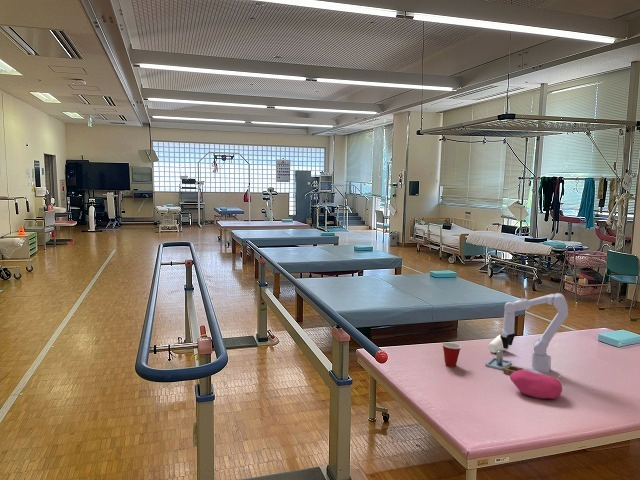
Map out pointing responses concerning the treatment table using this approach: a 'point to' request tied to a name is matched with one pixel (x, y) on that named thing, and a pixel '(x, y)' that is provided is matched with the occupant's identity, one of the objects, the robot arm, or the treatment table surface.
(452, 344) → the plastic cup
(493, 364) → the tray
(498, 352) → the dowel
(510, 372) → the socket block
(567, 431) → the treatment table surface
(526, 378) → the cushion
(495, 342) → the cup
